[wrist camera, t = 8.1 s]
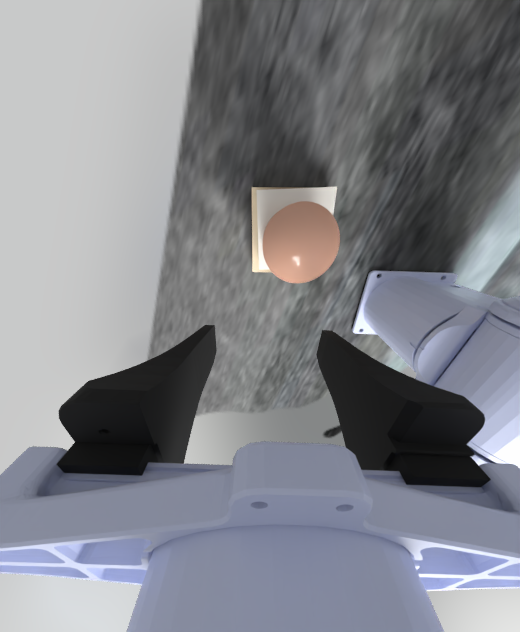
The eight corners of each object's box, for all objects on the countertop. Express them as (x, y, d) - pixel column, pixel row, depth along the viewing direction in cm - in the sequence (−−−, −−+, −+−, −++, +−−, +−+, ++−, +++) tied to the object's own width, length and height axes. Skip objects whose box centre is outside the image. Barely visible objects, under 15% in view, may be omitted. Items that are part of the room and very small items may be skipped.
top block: (324, 192, 15) (337, 186, 13) (316, 261, 18) (326, 268, 15) (257, 195, 15) (256, 189, 13) (259, 262, 18) (258, 269, 15)
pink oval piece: (325, 208, 13) (349, 203, 10) (314, 270, 15) (330, 284, 12) (264, 205, 13) (264, 198, 10) (261, 267, 15) (260, 281, 12)
